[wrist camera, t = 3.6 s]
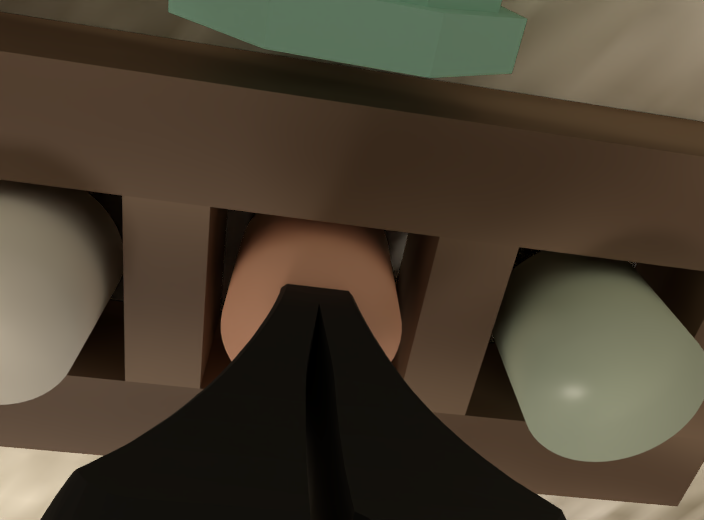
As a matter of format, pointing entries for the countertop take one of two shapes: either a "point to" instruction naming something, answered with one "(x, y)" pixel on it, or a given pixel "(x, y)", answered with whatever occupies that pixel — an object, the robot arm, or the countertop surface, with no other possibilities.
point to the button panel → (341, 222)
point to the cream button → (50, 282)
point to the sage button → (596, 357)
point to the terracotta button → (310, 275)
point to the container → (374, 32)
